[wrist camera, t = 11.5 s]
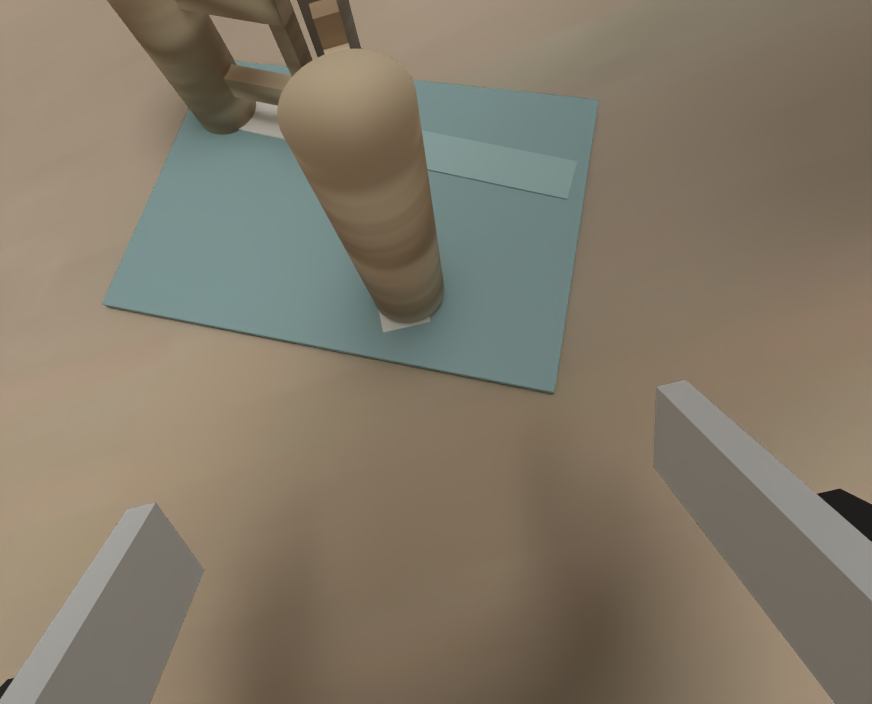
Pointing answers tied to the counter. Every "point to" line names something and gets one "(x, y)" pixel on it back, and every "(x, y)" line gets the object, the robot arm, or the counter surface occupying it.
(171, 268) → the card
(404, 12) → the counter surface
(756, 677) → the counter surface
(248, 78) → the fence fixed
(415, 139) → the fence panel
